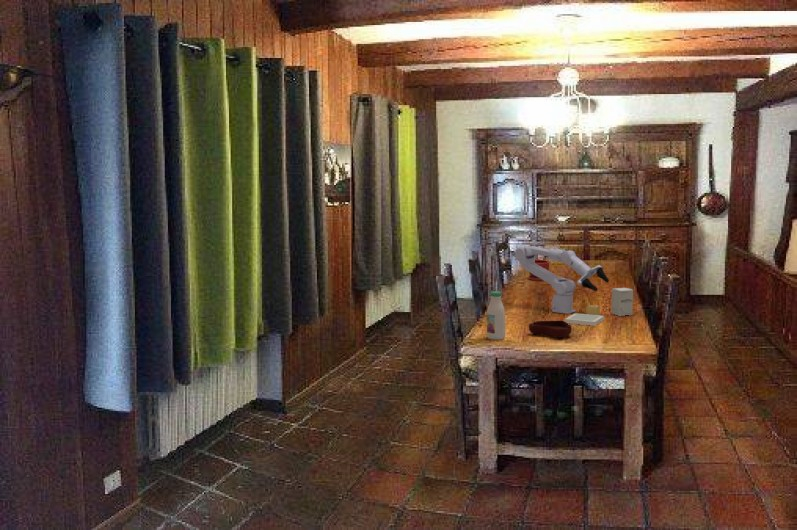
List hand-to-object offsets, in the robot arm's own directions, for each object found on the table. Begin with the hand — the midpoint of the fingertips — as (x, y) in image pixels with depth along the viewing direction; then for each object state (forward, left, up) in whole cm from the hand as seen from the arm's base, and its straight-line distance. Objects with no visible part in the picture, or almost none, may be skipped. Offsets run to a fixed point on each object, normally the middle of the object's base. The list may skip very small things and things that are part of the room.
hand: (602, 285), depth 340 cm
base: (-2, -13, -15) cm, 20 cm away
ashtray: (-1, -43, -16) cm, 46 cm away
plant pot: (-82, +78, -16) cm, 114 cm away
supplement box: (+5, +11, -16) cm, 20 cm away
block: (-4, -1, -15) cm, 16 cm away
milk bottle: (-17, -63, -15) cm, 67 cm away
